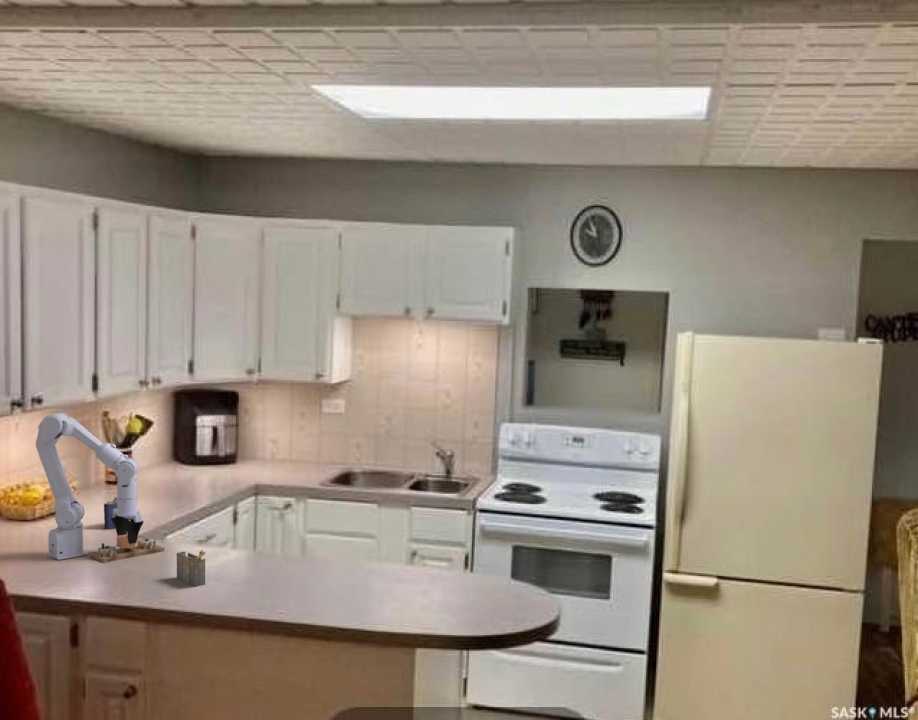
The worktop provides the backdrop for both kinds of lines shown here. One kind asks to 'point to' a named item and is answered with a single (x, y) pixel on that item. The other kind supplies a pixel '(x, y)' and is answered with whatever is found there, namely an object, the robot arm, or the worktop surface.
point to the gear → (125, 542)
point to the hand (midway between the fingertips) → (127, 541)
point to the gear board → (126, 551)
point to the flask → (109, 513)
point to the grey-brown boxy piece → (191, 568)
